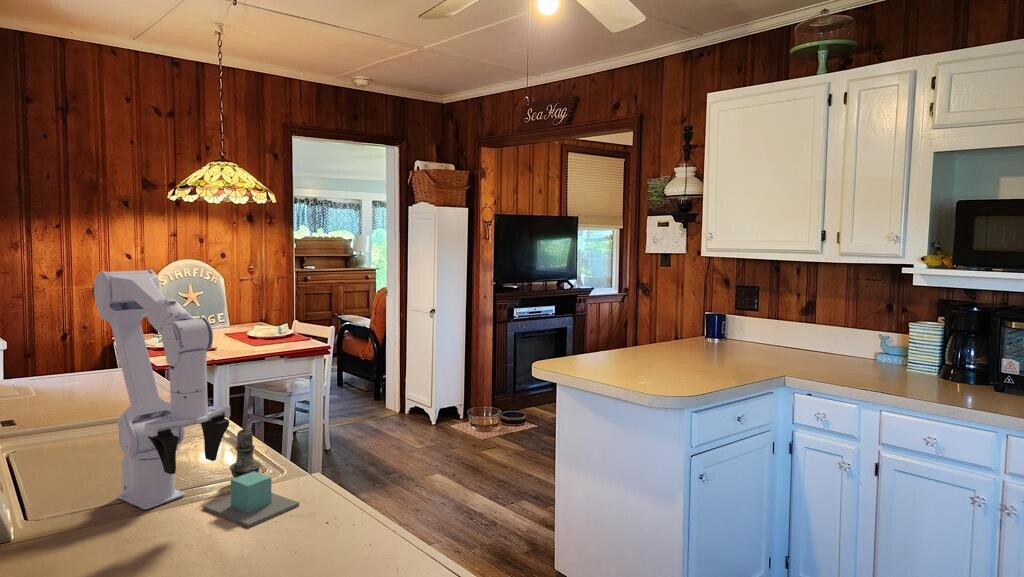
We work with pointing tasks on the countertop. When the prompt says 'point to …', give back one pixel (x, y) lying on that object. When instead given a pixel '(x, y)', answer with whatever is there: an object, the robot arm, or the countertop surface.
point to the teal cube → (251, 491)
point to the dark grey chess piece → (244, 454)
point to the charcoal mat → (253, 517)
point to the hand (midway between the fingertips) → (190, 466)
